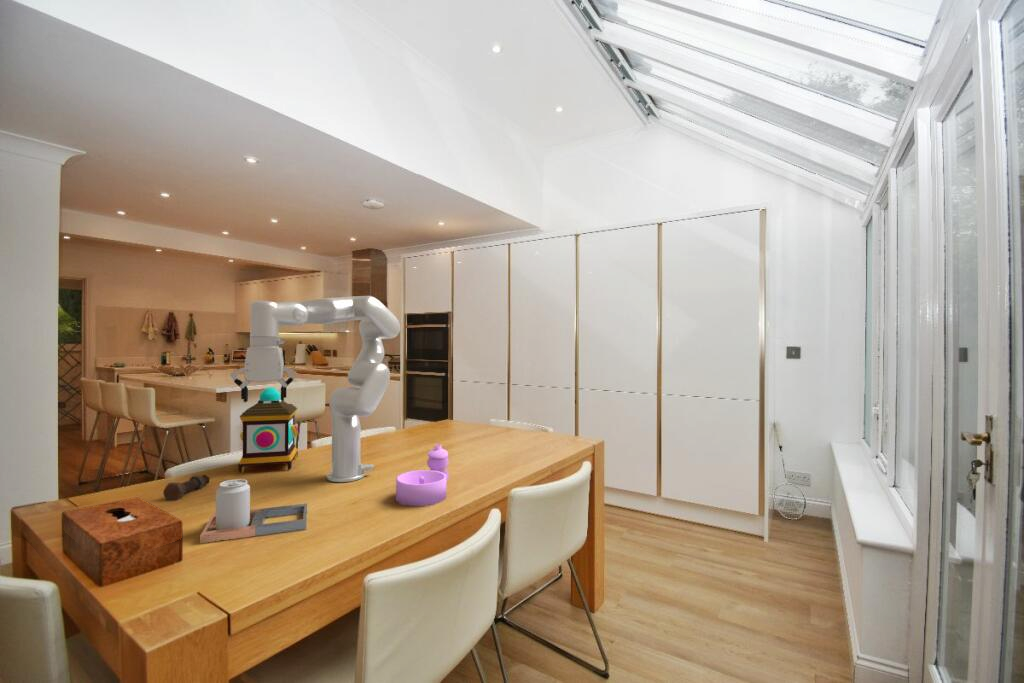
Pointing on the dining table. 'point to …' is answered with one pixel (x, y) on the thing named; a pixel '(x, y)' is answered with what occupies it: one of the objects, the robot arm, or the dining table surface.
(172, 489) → the bolt
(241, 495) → the can
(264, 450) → the decorative lantern
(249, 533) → the tray
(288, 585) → the dining table surface
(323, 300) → the robot arm
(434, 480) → the container set
